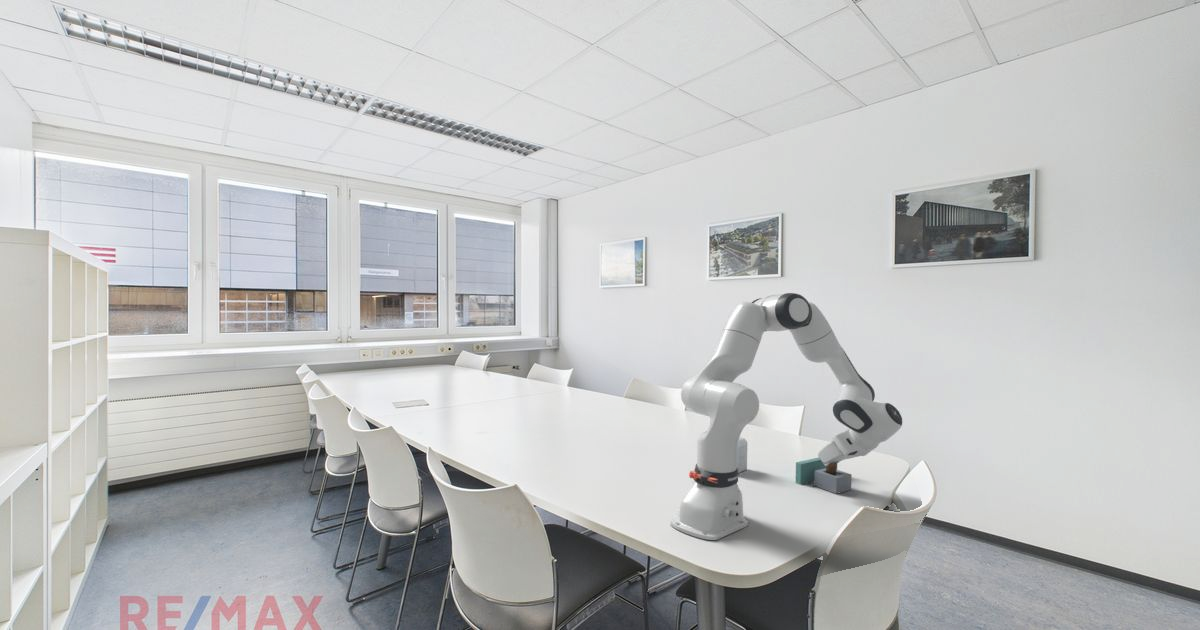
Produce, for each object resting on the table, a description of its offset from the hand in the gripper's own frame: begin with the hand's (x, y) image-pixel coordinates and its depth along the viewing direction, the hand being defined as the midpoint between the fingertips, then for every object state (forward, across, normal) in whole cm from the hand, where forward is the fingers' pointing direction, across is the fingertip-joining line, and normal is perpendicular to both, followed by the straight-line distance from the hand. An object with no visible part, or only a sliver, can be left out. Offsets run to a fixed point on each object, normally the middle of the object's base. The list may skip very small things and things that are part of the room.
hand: (829, 462), depth 159 cm
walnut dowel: (+4, 0, +4) cm, 6 cm away
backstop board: (+11, -3, +1) cm, 11 cm away
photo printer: (+24, +17, -12) cm, 32 cm away
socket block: (+5, 0, +7) cm, 8 cm away
